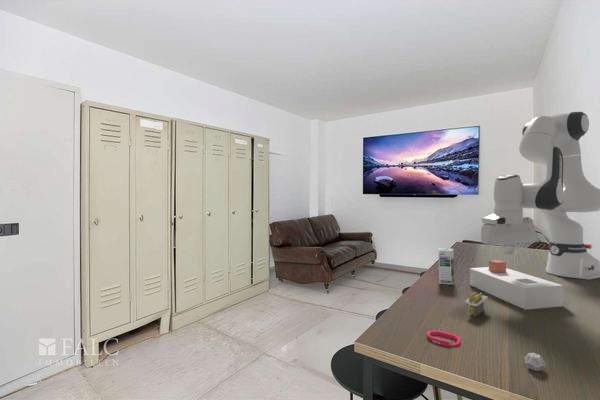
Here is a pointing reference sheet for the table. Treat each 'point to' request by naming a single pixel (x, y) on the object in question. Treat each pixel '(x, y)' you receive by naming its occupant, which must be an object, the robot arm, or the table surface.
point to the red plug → (497, 266)
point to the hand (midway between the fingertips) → (509, 254)
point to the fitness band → (441, 341)
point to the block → (518, 288)
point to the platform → (476, 303)
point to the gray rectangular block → (526, 281)
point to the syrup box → (446, 266)
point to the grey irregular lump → (534, 362)
